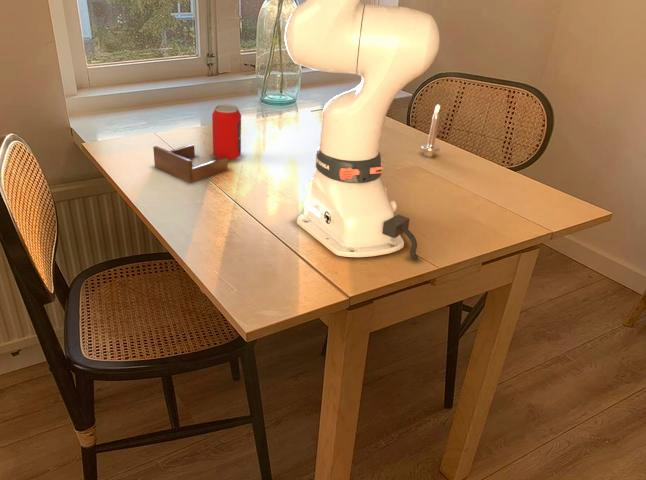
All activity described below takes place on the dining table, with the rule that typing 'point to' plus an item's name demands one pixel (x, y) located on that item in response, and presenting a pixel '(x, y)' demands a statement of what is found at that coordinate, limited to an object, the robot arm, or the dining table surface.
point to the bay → (186, 164)
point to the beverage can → (226, 132)
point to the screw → (432, 135)
